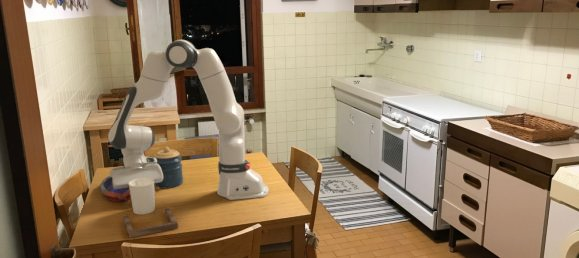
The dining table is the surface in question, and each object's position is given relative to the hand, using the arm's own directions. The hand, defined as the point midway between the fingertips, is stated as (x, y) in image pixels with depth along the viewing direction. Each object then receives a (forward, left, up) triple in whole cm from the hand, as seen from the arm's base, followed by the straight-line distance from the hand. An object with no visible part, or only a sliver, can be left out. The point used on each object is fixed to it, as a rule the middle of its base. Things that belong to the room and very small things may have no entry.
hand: (141, 194), depth 191 cm
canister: (-5, -25, -5) cm, 26 cm away
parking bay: (-8, +18, -5) cm, 20 cm away
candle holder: (-2, +5, -5) cm, 8 cm away
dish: (+14, -15, -5) cm, 21 cm away
